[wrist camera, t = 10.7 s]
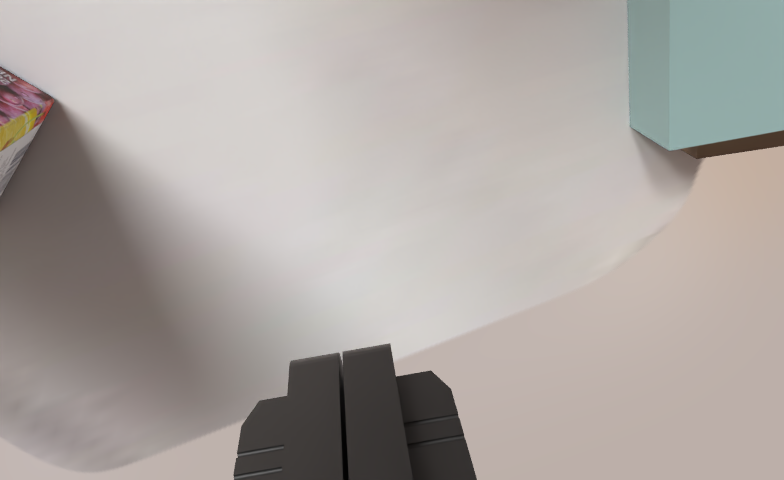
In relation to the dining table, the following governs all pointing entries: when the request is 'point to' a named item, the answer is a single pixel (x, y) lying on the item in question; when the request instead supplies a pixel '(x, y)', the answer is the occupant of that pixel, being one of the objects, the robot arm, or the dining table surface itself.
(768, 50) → the teal carton
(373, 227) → the dining table surface
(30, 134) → the snack box
